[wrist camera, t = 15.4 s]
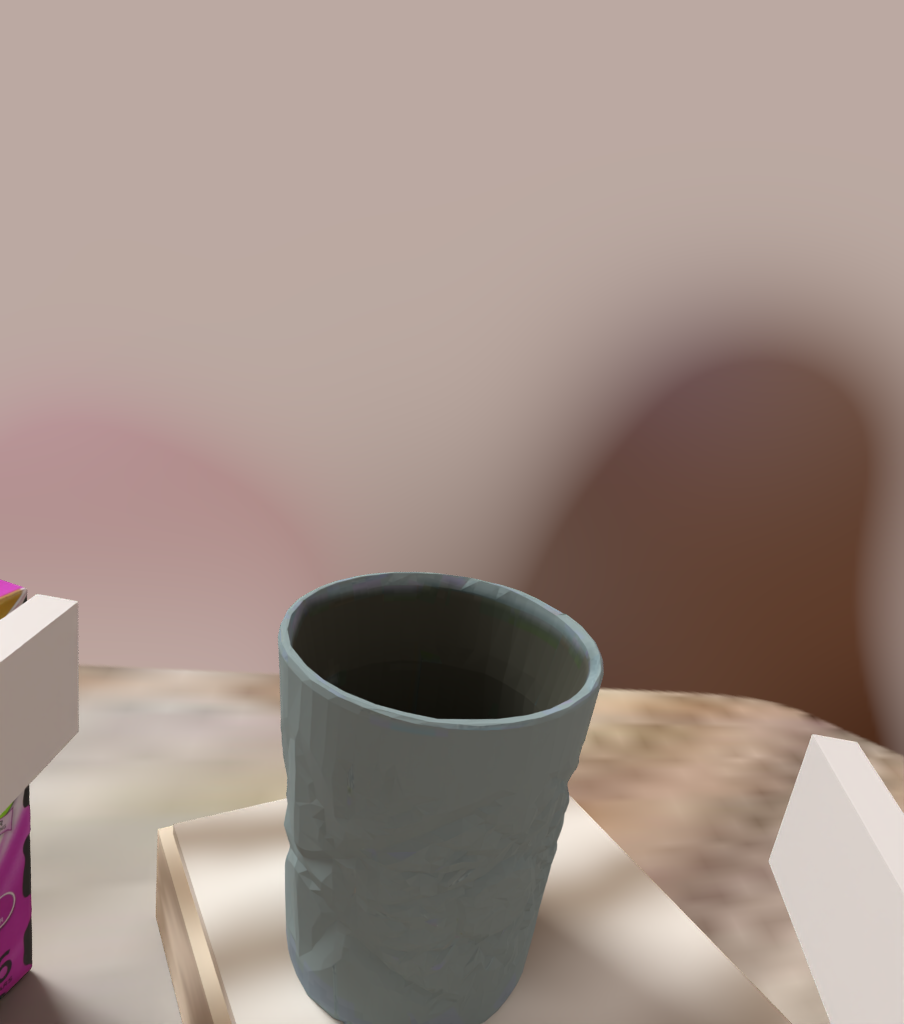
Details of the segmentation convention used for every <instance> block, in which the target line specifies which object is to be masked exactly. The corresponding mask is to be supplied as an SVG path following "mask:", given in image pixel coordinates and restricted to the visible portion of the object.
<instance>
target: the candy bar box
mask: <svg viewBox="0 0 904 1024" xmlns="http://www.w3.org/2000/svg"><path fill="white" fill-rule="evenodd" d="M26 601H27V589H26V588H24V587H21V586H18V585H16V584H12V583H9V582H7V581H3V580H0V620H1V619H2V618H4V617H5V616H7V615H8V614H9V613H11V612H12V611H14V610H15V609H16V608H18V607H19V606H21V605H22V604H24V603H25V602H26ZM30 830H31V828H30V804H29V785H28V786H27V787H26V788H25V789H24V790H23V791H22V793H21V794H20V795H19V796H18V797H17V798H16V799H15V800H14V801H13V802H12V803H11V804H10V805H9V806H8V808H7V809H6V810H5V811H4V812H3V813H2V814H1V815H0V999H1V998H2V997H3V996H4V995H5V994H6V993H7V992H8V991H9V990H10V989H11V988H12V987H13V986H14V985H15V984H16V983H17V982H18V981H19V980H20V979H21V978H22V977H23V976H24V975H25V974H26V973H27V972H28V971H29V970H30V969H31V967H32V922H31V912H32V907H31V858H30Z"/></svg>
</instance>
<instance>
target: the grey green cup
mask: <svg viewBox="0 0 904 1024" xmlns="http://www.w3.org/2000/svg"><path fill="white" fill-rule="evenodd" d="M278 646H279V668H280V701H281V732H282V747H283V757H284V762H285V767H286V772H287V793H286V796H287V803H288V804H287V809H286V815H285V820H284V827H285V831H286V834H287V837H288V841H289V844H290V848H289V851H288V854H287V856H286V860H285V909H286V936H287V944H288V951H289V955H290V959H291V962H292V964H293V967H294V970H295V972H296V975H297V977H298V979H299V981H300V982H301V984H302V986H303V988H304V990H305V991H306V993H307V995H308V996H309V997H310V998H311V999H312V1000H313V1001H314V1002H315V1003H317V1004H318V1005H319V1006H320V1007H321V1008H322V1009H323V1010H325V1011H326V1012H327V1013H328V1014H329V1015H330V1016H331V1017H333V1018H334V1019H337V1020H339V1021H342V1022H343V1023H344V1024H482V1023H483V1022H485V1021H486V1020H488V1019H489V1018H490V1017H491V1016H492V1015H493V1014H494V1013H495V1012H497V1011H498V1010H499V1008H500V1007H501V1006H502V1005H503V1004H504V1002H505V1001H506V1000H507V998H508V997H509V996H510V994H511V992H512V991H513V989H514V988H515V986H516V985H517V983H518V981H519V979H520V977H521V975H522V973H523V969H524V966H525V962H526V958H527V955H528V951H529V948H530V944H531V941H532V937H533V933H534V930H535V925H536V921H537V916H538V911H539V908H540V904H541V901H542V897H543V894H544V890H545V886H546V883H547V880H548V876H549V872H550V868H551V864H552V862H553V859H554V856H555V854H556V851H557V840H558V838H559V835H560V833H561V830H562V826H563V823H564V815H565V812H566V810H567V807H568V804H569V792H568V787H567V783H568V781H569V779H570V777H571V775H572V774H573V772H574V771H575V770H576V768H577V766H578V763H579V756H580V752H581V749H582V745H583V743H584V741H585V738H586V734H587V731H588V727H589V724H590V720H591V717H592V713H593V710H594V706H595V703H596V699H597V696H598V692H599V689H600V685H601V682H602V678H603V674H604V673H603V660H602V657H601V654H600V652H599V649H598V647H597V645H596V643H595V641H594V640H593V639H592V638H591V637H590V636H589V635H588V633H587V632H586V631H585V630H584V628H583V627H582V626H581V625H579V624H578V623H577V622H575V621H574V620H573V619H572V618H570V617H569V616H568V615H566V614H563V613H561V612H560V611H558V610H556V609H554V608H553V607H551V606H549V605H547V604H546V603H544V602H542V601H540V600H539V599H536V598H534V597H532V596H530V595H528V594H526V593H523V592H521V591H518V590H515V589H512V588H509V587H506V586H503V585H499V584H494V583H490V582H486V581H482V580H478V579H473V578H468V577H461V576H453V575H445V574H438V573H425V572H392V573H376V574H368V575H361V576H355V577H351V578H347V579H343V580H339V581H335V582H332V583H330V584H326V585H324V586H321V587H319V588H317V589H315V590H313V591H311V592H309V593H308V594H306V595H304V596H303V597H301V598H299V599H298V600H297V601H296V602H295V603H294V604H293V605H292V606H291V607H290V608H289V609H288V611H287V613H286V615H285V617H284V619H283V621H282V623H281V625H280V629H279V635H278Z"/></svg>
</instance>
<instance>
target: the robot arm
mask: <svg viewBox="0 0 904 1024" xmlns="http://www.w3.org/2000/svg"><path fill="white" fill-rule="evenodd" d="M78 732H79V714H78V601H73V600H67V599H62V598H56V597H50V596H45V595H39V594H36V595H35V596H34V597H32V598H31V599H29V600H28V601H26V602H25V603H24V604H22V605H21V606H19V607H18V608H16V609H15V610H14V611H12V612H11V613H9V614H8V615H7V616H5V617H4V618H2V619H1V620H0V815H1V814H2V813H3V812H4V811H5V810H6V809H7V808H8V806H9V805H10V804H11V803H12V802H13V801H14V800H15V799H16V798H17V797H18V796H19V795H20V794H21V793H22V791H23V790H24V789H25V788H26V787H27V786H28V785H29V784H30V783H31V782H32V781H33V780H34V779H35V778H36V777H37V775H38V774H39V773H40V772H41V771H42V770H43V769H44V768H45V767H46V766H47V765H48V764H49V763H50V762H51V760H52V759H53V758H54V757H55V756H56V755H57V754H58V753H59V752H60V751H61V750H62V749H63V748H64V747H65V746H66V744H67V743H68V742H69V741H70V740H71V739H72V738H73V737H74V736H75V735H76V734H77V733H78ZM769 864H770V866H771V869H772V871H773V874H774V877H775V879H776V882H777V885H778V887H779V890H780V892H781V895H782V898H783V900H784V903H785V906H786V908H787V911H788V913H789V916H790V919H791V921H792V924H793V926H794V929H795V932H796V934H797V937H798V940H799V942H800V945H801V947H802V950H803V953H804V955H805V958H806V960H807V963H808V966H809V968H810V971H811V974H812V976H813V979H814V981H815V984H816V987H817V989H818V992H819V994H820V997H821V1000H822V1002H823V1005H824V1008H825V1010H826V1013H827V1015H828V1018H829V1021H830V1023H831V1024H904V814H903V812H902V810H901V809H900V807H899V806H898V804H897V803H896V801H895V800H894V798H893V797H892V795H891V794H890V792H889V791H888V789H887V787H886V786H885V784H884V783H883V781H882V780H881V778H880V777H879V775H878V774H877V772H876V771H875V769H874V768H873V766H872V764H871V763H870V761H869V760H868V758H867V757H866V755H865V754H864V752H863V751H862V749H861V748H860V746H859V744H858V743H857V742H853V741H848V740H842V739H837V738H831V737H825V736H820V735H814V734H812V736H811V739H810V742H809V745H808V748H807V751H806V754H805V757H804V760H803V763H802V766H801V768H800V771H799V774H798V777H797V780H796V783H795V786H794V789H793V792H792V795H791V798H790V800H789V803H788V806H787V809H786V812H785V815H784V818H783V821H782V824H781V827H780V829H779V832H778V835H777V838H776V841H775V844H774V847H773V850H772V853H771V856H770V859H769Z"/></svg>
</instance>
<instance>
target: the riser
mask: <svg viewBox="0 0 904 1024" xmlns="http://www.w3.org/2000/svg"><path fill="white" fill-rule="evenodd" d="M287 804H288V803H287V798H286V799H281V800H277V801H273V802H268V803H264V804H259V805H255V806H251V807H246V808H242V809H237V810H233V811H229V812H224V813H220V814H215V815H211V816H206V817H202V818H198V819H193V820H189V821H184V822H180V823H176V824H173V826H169V827H165V828H160V829H158V839H157V883H156V919H157V923H158V927H159V931H160V935H161V939H162V943H163V947H164V951H165V955H166V959H167V963H168V967H169V971H170V975H171V979H172V983H173V987H174V991H175V995H176V999H177V1003H178V1007H179V1011H180V1015H181V1018H182V1022H183V1024H344V1023H343V1022H342V1021H339V1020H337V1019H334V1018H333V1017H331V1016H330V1015H329V1014H328V1013H327V1012H326V1011H325V1010H323V1009H322V1008H321V1007H320V1006H319V1005H318V1004H317V1003H315V1002H314V1001H313V1000H312V999H311V998H310V997H309V996H308V995H307V993H306V991H305V990H304V988H303V986H302V984H301V982H300V981H299V979H298V977H297V975H296V972H295V970H294V967H293V964H292V962H291V959H290V955H289V951H288V944H287V936H286V909H285V860H286V856H287V854H288V851H289V848H290V844H289V841H288V837H287V834H286V831H285V827H284V820H285V815H286V809H287ZM482 1024H792V1023H791V1022H790V1021H789V1020H788V1019H787V1018H786V1017H785V1016H784V1015H783V1014H782V1013H781V1012H780V1011H779V1010H778V1009H777V1008H776V1007H775V1006H774V1005H773V1004H772V1003H771V1002H770V1001H769V1000H768V999H767V998H766V997H765V995H764V994H763V993H762V992H761V991H760V990H759V989H758V988H757V987H756V986H755V985H754V984H753V983H752V982H751V981H750V980H749V979H748V978H747V977H746V976H745V975H744V974H743V973H742V972H741V971H740V970H739V969H738V968H737V967H736V966H735V965H734V964H733V963H732V962H731V961H730V960H729V959H728V957H727V956H726V955H725V954H724V953H723V952H722V951H721V950H720V949H719V948H718V947H717V946H716V945H715V944H714V943H713V942H712V941H711V940H710V939H709V938H708V937H707V936H706V935H705V934H704V933H703V932H702V931H701V930H700V929H699V928H698V927H697V926H696V925H695V924H694V923H693V922H692V921H691V919H690V918H689V917H688V916H687V915H686V914H685V913H684V912H683V911H682V910H681V909H680V908H679V907H678V906H677V905H676V904H675V903H674V902H673V901H672V900H671V899H670V898H669V897H668V896H667V895H666V894H665V893H664V892H663V891H662V890H661V889H660V888H659V887H658V886H657V885H656V884H655V883H654V881H653V880H652V879H651V878H650V877H649V876H648V875H647V874H646V873H645V872H644V871H643V870H642V869H641V868H640V867H639V866H638V865H637V864H636V863H635V862H634V861H633V860H632V859H631V858H630V857H629V856H628V855H627V854H626V853H625V852H624V851H623V850H622V849H621V848H620V847H619V846H618V845H617V843H616V842H615V841H614V840H613V839H612V838H611V837H610V836H609V835H608V834H607V833H606V832H605V831H604V830H603V829H602V828H601V827H600V826H599V825H598V824H597V823H596V822H595V821H594V820H593V819H592V818H591V817H590V816H589V815H588V814H587V813H586V812H585V811H584V810H583V809H582V808H581V807H580V805H579V804H578V803H577V802H576V801H575V800H574V799H573V798H572V797H571V796H570V795H569V804H568V807H567V810H566V812H565V815H564V823H563V826H562V830H561V833H560V835H559V838H558V840H557V851H556V854H555V856H554V859H553V862H552V864H551V868H550V872H549V876H548V880H547V883H546V886H545V890H544V894H543V897H542V901H541V904H540V908H539V911H538V916H537V921H536V925H535V930H534V933H533V937H532V941H531V944H530V948H529V951H528V955H527V958H526V962H525V966H524V969H523V973H522V975H521V977H520V979H519V981H518V983H517V985H516V986H515V988H514V989H513V991H512V992H511V994H510V996H509V997H508V998H507V1000H506V1001H505V1002H504V1004H503V1005H502V1006H501V1007H500V1008H499V1010H498V1011H497V1012H495V1013H494V1014H493V1015H492V1016H491V1017H490V1018H489V1019H488V1020H486V1021H485V1022H483V1023H482Z"/></svg>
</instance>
